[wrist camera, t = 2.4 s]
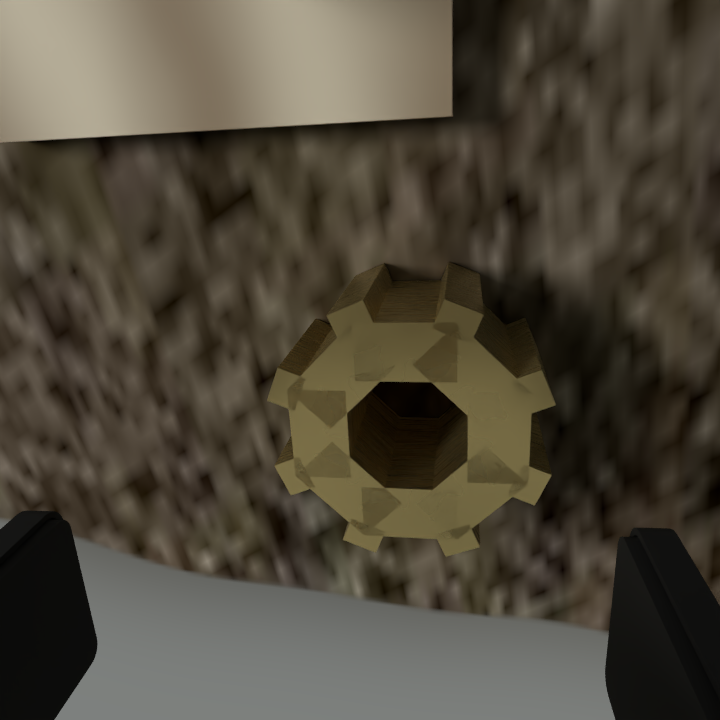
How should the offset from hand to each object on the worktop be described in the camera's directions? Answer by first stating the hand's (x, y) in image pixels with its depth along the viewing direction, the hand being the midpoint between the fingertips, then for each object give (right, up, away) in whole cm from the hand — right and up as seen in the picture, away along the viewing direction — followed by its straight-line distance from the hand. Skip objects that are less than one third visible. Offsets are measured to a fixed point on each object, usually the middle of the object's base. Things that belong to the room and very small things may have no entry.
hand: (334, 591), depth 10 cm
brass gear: (+2, +3, +8) cm, 9 cm away
